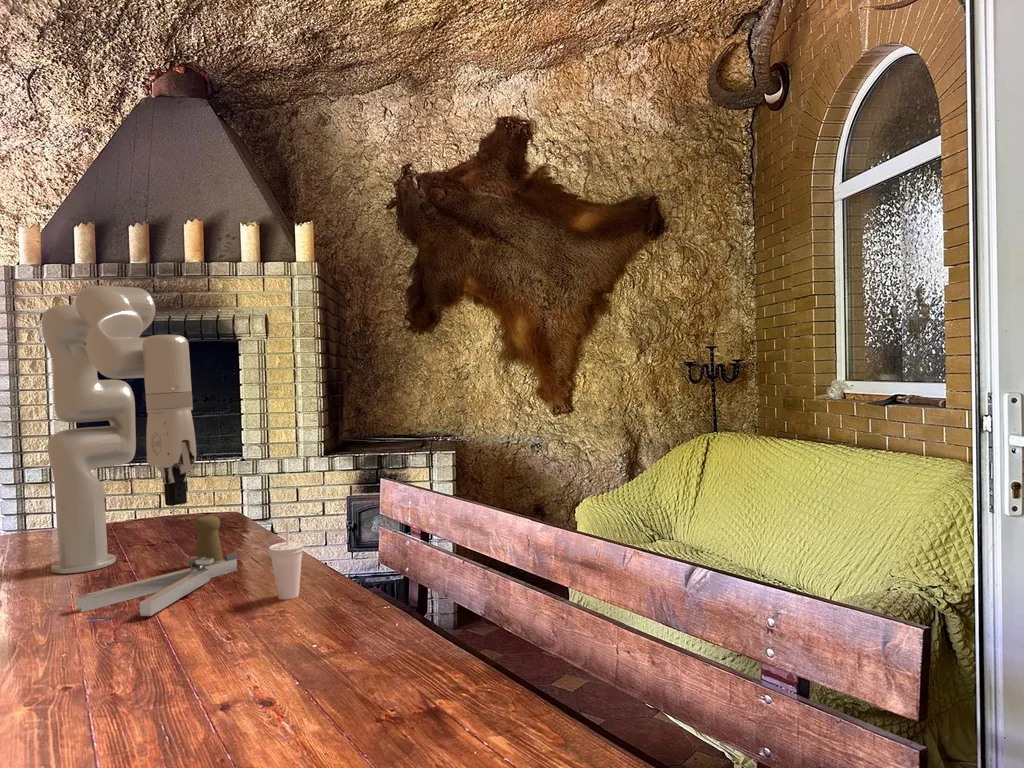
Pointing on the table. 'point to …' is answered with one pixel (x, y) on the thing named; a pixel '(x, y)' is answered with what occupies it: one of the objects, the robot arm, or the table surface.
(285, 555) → the smoothie
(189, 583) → the tongs jaw
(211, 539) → the olive pepper mill
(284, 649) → the table surface
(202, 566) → the tongs fixed
